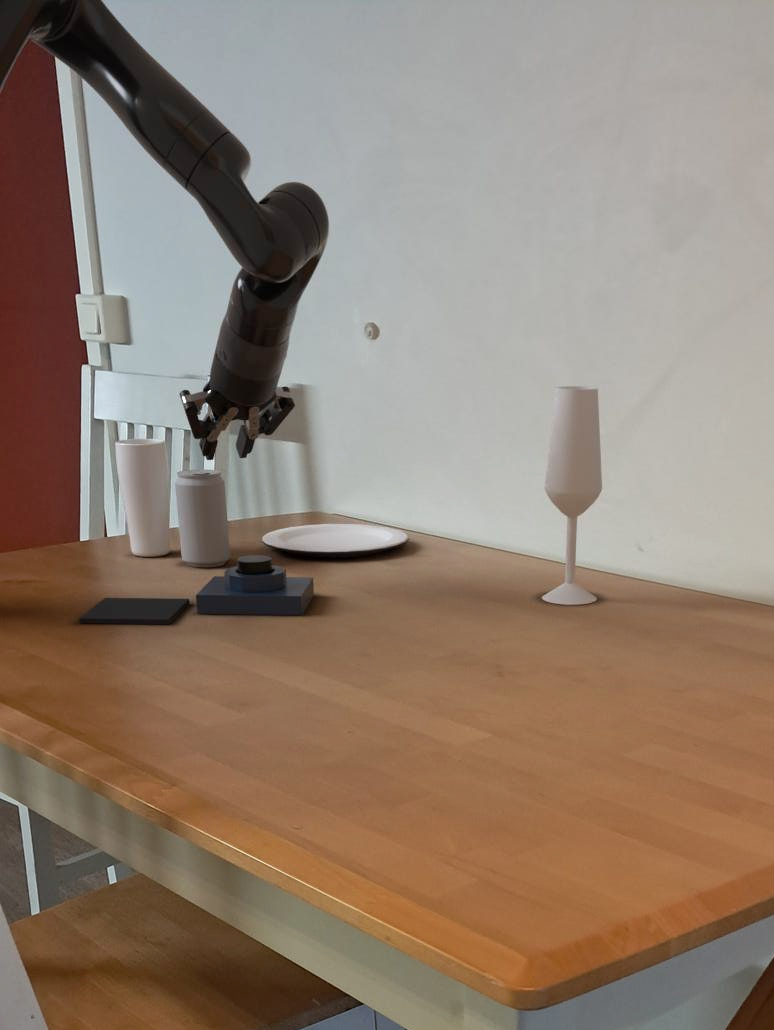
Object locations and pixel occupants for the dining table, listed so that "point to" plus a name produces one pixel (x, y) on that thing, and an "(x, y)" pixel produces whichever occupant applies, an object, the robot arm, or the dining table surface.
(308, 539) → the plate
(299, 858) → the dining table surface
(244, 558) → the button
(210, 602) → the button box
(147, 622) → the coaster
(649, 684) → the dining table surface
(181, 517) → the beverage can
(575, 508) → the champagne flute
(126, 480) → the drinking glass
